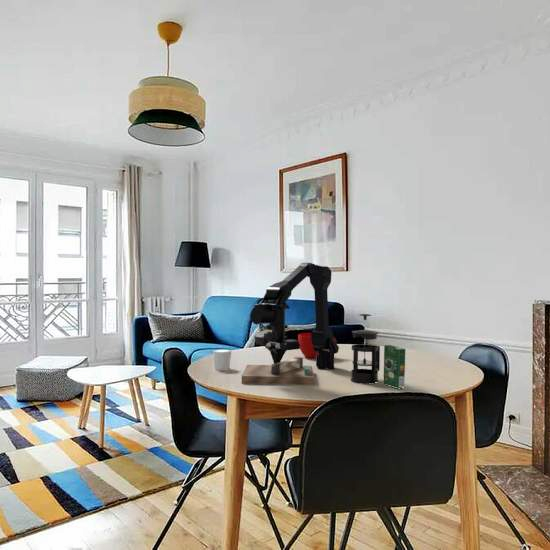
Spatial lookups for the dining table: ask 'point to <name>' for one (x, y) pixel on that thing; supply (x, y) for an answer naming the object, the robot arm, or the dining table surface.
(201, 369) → the dining table surface
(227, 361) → the white cylinder
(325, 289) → the robot arm
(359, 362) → the french press
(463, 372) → the dining table surface
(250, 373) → the stool seat
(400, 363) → the coffee box
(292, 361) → the hinged leg
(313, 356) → the ceramic cup
